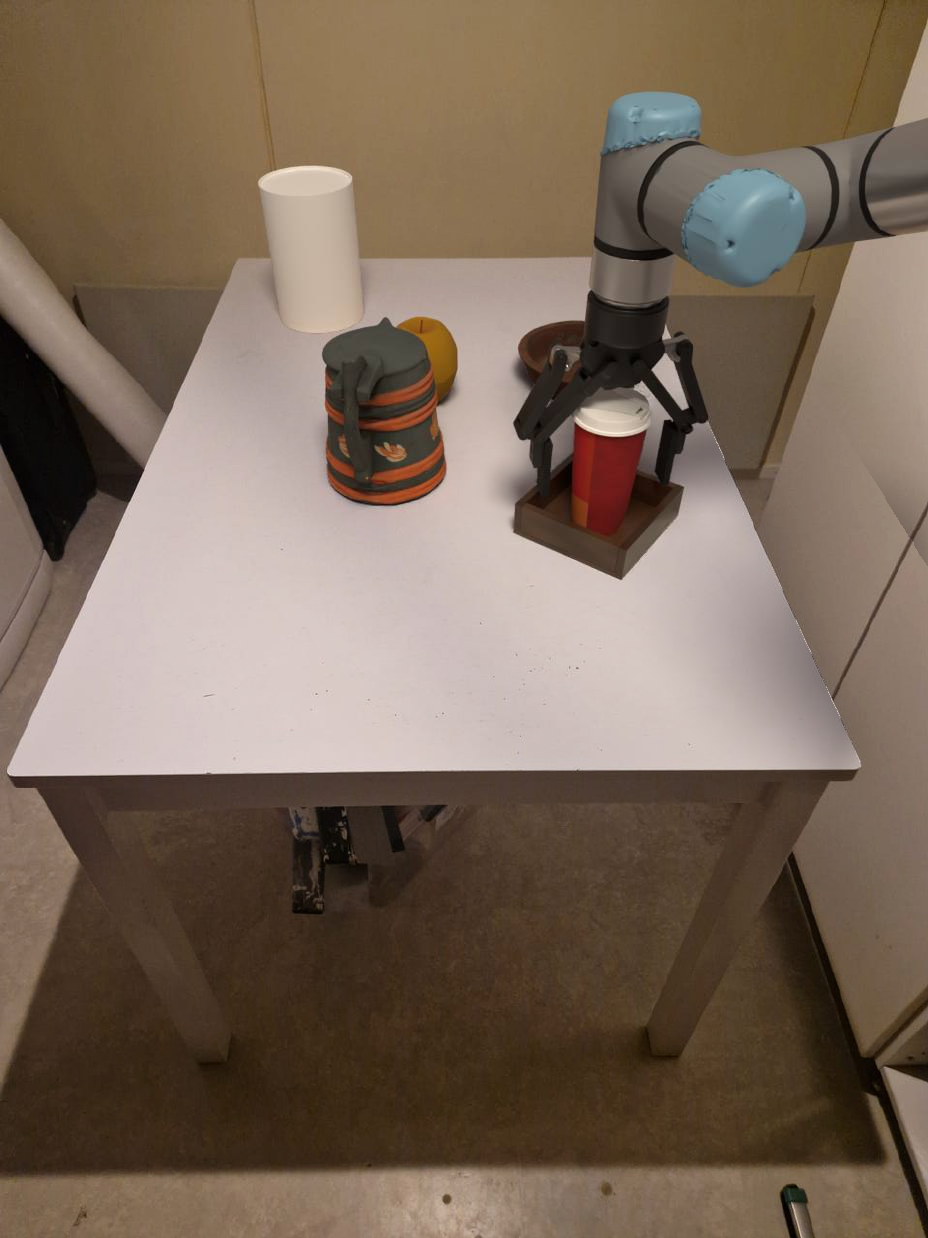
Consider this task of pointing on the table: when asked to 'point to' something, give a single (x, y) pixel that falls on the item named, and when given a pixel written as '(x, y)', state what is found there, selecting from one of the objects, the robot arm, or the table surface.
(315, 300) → the canister
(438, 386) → the apple
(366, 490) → the beer stein
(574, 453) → the coffee cup
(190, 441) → the table surface
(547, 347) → the dish
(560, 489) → the square wooden tray
